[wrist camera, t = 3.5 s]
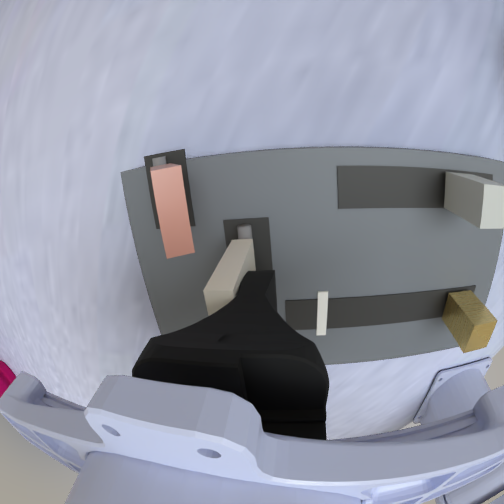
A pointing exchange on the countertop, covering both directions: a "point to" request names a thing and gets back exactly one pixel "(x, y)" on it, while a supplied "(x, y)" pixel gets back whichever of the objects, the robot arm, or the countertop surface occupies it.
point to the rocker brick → (171, 207)
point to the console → (325, 242)
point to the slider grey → (475, 199)
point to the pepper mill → (5, 377)
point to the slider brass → (468, 320)
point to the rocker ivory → (230, 270)
